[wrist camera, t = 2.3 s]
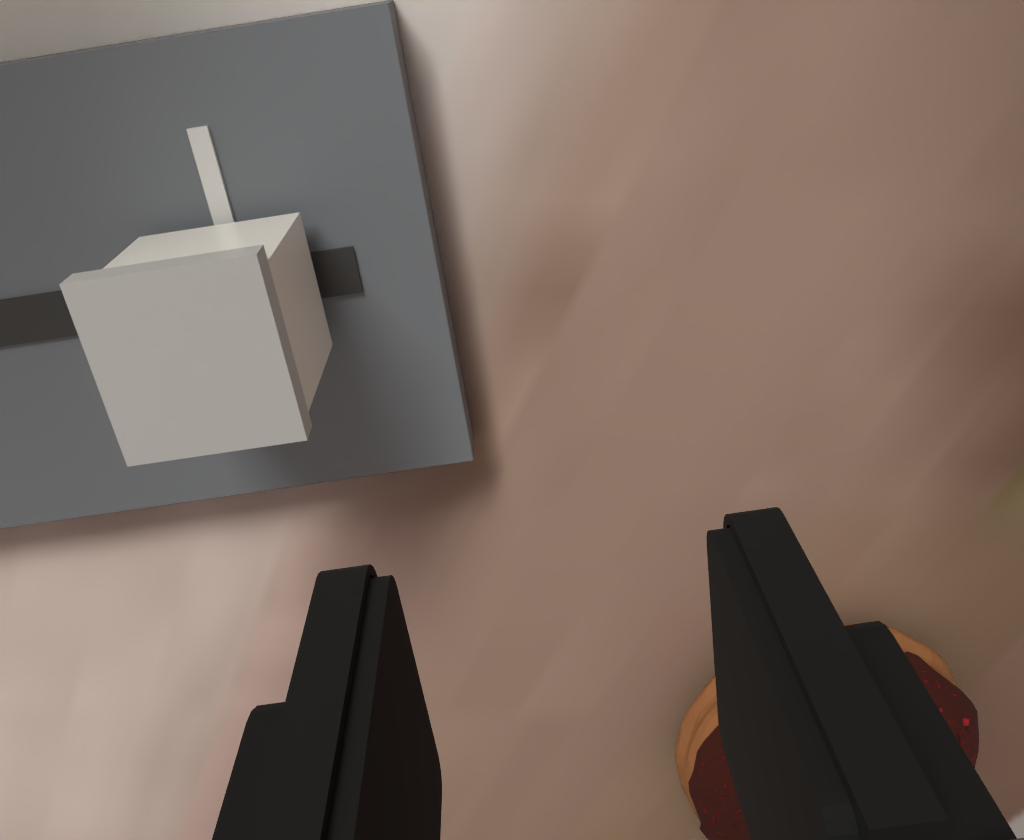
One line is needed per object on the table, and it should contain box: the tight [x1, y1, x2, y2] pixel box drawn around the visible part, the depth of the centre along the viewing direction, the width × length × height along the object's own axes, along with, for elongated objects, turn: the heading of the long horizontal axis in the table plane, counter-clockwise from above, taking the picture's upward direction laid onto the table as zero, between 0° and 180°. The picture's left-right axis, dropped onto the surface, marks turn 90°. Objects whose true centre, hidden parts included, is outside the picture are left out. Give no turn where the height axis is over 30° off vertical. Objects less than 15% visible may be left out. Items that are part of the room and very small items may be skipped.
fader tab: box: [59, 212, 333, 467], centre depth 22 cm, size 4×4×5 cm
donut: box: [675, 624, 979, 840], centre depth 32 cm, size 10×10×4 cm
